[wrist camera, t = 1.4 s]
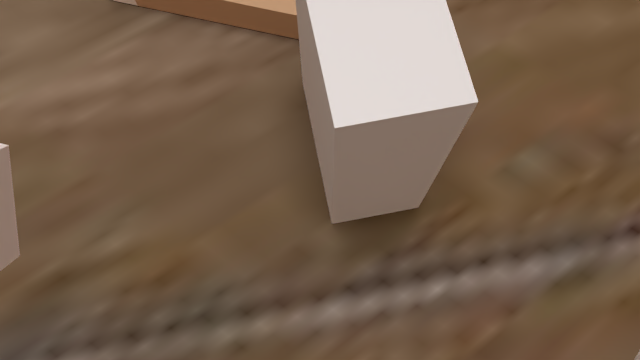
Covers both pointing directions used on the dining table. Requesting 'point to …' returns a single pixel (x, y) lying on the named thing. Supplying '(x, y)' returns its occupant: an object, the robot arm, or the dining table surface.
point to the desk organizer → (234, 13)
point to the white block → (381, 99)
